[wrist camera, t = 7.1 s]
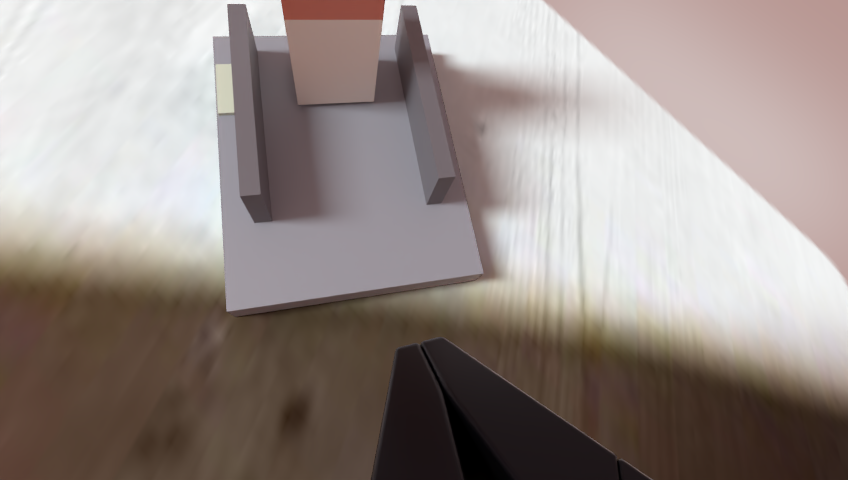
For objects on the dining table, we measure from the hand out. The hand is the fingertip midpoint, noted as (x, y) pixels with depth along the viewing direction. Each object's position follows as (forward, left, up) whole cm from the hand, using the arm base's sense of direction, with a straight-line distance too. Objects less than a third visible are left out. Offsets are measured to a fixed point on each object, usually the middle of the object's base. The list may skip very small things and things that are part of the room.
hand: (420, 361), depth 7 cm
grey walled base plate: (+8, -8, -13) cm, 18 cm away
